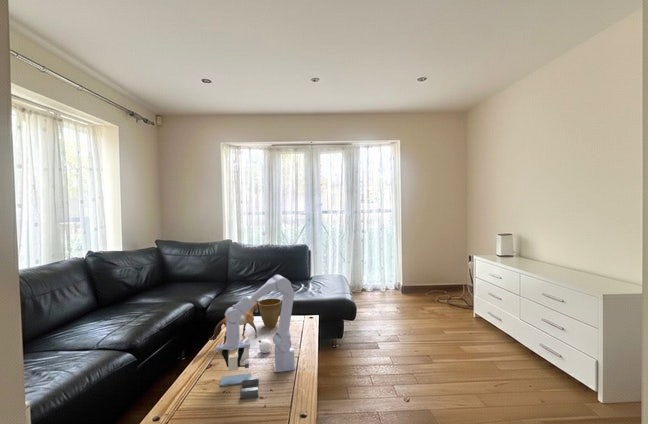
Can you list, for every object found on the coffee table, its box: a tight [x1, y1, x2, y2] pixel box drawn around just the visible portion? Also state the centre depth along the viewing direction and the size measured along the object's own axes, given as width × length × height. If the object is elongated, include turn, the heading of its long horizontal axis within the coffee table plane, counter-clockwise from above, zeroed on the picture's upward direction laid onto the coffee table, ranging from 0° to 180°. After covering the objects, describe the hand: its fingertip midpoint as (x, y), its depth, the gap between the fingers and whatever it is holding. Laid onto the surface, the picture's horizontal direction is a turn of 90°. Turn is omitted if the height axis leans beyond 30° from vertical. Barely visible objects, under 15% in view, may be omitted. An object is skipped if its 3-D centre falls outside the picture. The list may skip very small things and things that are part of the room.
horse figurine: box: [208, 300, 260, 345], centre depth 174 cm, size 31×8×21 cm, turn 134°
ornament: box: [258, 338, 273, 354], centre depth 161 cm, size 6×7×7 cm
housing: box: [239, 376, 260, 400], centre depth 126 cm, size 7×10×3 cm
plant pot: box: [257, 297, 282, 329], centre depth 198 cm, size 15×15×16 cm
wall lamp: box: [227, 354, 250, 372], centre depth 135 cm, size 9×4×5 cm, turn 97°
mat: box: [219, 372, 252, 388], centre depth 134 cm, size 13×7×1 cm, turn 101°
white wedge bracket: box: [234, 336, 250, 362], centre depth 155 cm, size 4×10×9 cm, turn 141°
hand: (233, 365), depth 134 cm, fingers closed on wall lamp, 4 cm apart
